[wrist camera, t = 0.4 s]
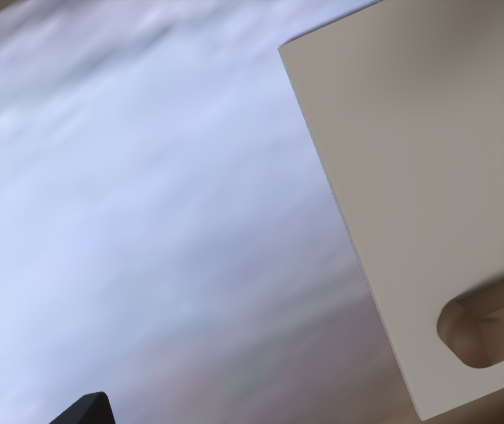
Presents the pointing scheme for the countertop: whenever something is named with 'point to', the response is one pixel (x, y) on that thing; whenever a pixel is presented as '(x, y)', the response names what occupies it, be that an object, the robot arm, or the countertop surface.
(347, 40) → the base board
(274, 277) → the countertop surface
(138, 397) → the countertop surface
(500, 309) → the link
